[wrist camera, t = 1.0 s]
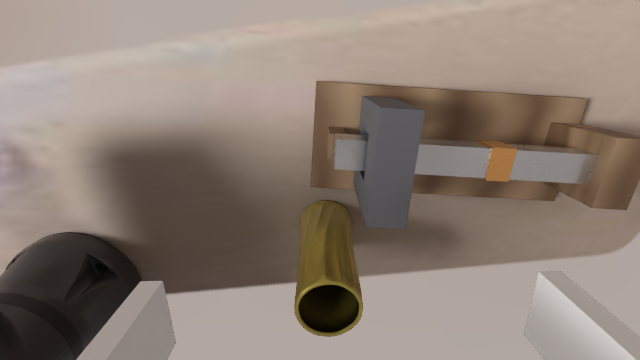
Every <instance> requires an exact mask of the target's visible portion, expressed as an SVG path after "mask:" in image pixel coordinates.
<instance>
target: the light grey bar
mask: <svg viewBox="0 0 640 360" xmlns="http://www.w3.org/2000/svg"><path fill="white" fill-rule="evenodd" d="M368 139H369V135H356V134H339V133H335V144H334V157H333V163H334V169H338V170H355V171H365V166H366V157H367V148H368ZM597 157H598V155H596V154H593V153H589V152H586V151H583V150H580V149H577V148H568V147H551V146H535V145H519V144H504V143H502V142H499V141H485V140H477V142H470V141H454V140H437V139H421V138H420V144H419V150H418V156H417V162H416V168H415V174H423V175H440V176H457V177H473V178H483V179H484V180H487V181H504V182H508V181H509V180H524V181H541V182H558V183H575V184H588V182H589V179H590V176H591V173H592V171H593V168H594V165H595V162H596V160H597Z"/></svg>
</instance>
